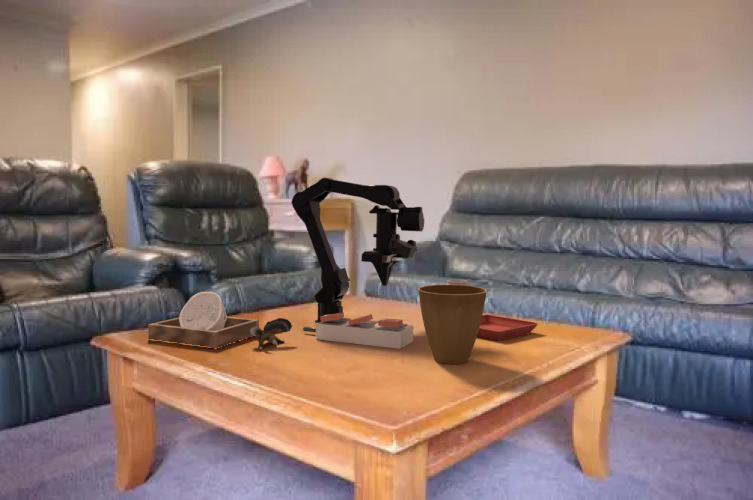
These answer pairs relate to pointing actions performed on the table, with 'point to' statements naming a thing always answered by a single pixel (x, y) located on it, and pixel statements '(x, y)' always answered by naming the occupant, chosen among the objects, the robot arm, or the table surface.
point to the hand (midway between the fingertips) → (384, 285)
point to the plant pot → (451, 319)
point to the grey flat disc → (203, 312)
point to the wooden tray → (202, 332)
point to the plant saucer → (503, 327)
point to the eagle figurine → (271, 331)
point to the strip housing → (363, 333)
